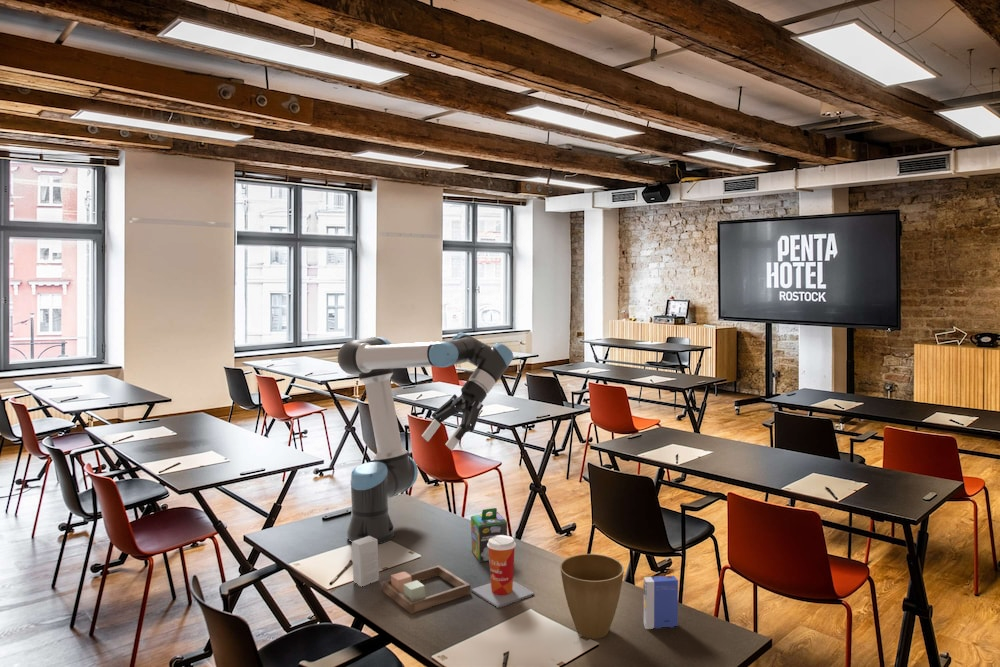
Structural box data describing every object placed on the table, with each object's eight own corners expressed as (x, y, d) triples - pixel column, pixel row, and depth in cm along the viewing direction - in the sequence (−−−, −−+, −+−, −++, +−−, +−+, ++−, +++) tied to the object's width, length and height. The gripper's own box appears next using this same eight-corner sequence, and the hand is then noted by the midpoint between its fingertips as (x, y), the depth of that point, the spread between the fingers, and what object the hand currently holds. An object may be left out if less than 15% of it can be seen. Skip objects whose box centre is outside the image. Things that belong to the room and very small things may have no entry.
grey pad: (471, 591, 186) (471, 589, 186) (507, 579, 194) (507, 577, 193) (497, 608, 177) (497, 606, 177) (534, 595, 184) (534, 592, 184)
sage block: (404, 602, 181) (403, 584, 180) (417, 598, 183) (417, 580, 183) (411, 608, 177) (411, 589, 177) (425, 604, 180) (424, 585, 179)
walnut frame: (382, 591, 187) (381, 582, 187) (439, 573, 198) (439, 565, 198) (411, 613, 174) (410, 604, 174) (470, 593, 185) (470, 584, 185)
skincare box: (370, 576, 197) (369, 535, 196) (379, 580, 194) (378, 539, 193) (352, 582, 193) (351, 541, 192) (360, 587, 190) (359, 545, 189)
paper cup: (481, 591, 185) (480, 540, 184) (501, 581, 191) (500, 532, 190) (503, 600, 180) (502, 547, 179) (522, 590, 185) (522, 539, 184)
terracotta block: (391, 593, 186) (391, 575, 186) (404, 589, 189) (404, 571, 188) (398, 598, 183) (398, 580, 183) (411, 594, 185) (411, 576, 185)
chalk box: (499, 547, 217) (498, 501, 215) (508, 558, 208) (508, 510, 207) (470, 551, 214) (469, 504, 212) (479, 563, 205) (478, 514, 204)
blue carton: (673, 621, 169) (674, 573, 168) (677, 627, 166) (678, 578, 165) (642, 623, 168) (642, 575, 167) (645, 629, 165) (645, 580, 164)
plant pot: (561, 614, 173) (560, 552, 172) (621, 617, 171) (621, 554, 170) (560, 646, 158) (559, 579, 157) (626, 649, 157) (626, 581, 155)
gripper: (509, 400, 203) (467, 459, 196) (462, 389, 224) (423, 442, 216) (494, 384, 200) (451, 443, 192) (448, 375, 220) (407, 428, 212)
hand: (436, 443), depth 204 cm, fingers open, 13 cm apart
